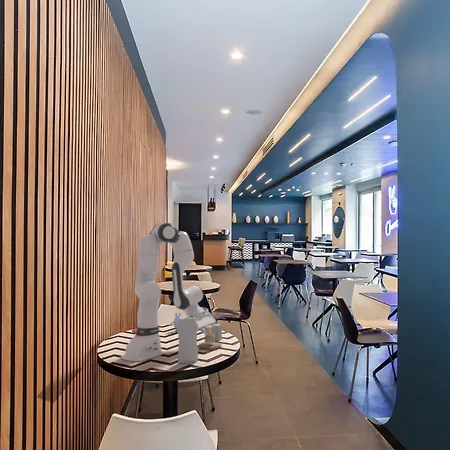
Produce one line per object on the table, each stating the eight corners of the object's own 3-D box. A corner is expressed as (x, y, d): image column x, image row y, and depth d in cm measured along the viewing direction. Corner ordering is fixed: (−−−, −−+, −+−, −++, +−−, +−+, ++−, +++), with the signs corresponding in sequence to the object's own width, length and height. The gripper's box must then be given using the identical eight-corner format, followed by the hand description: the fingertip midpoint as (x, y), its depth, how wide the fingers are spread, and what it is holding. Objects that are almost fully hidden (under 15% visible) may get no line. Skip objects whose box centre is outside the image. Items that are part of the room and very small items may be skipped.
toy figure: (185, 329, 260) (184, 311, 260) (187, 331, 254) (186, 312, 254) (169, 330, 257) (169, 312, 257) (170, 332, 251) (170, 314, 251)
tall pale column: (197, 359, 195) (196, 315, 195) (199, 362, 191) (198, 317, 191) (177, 362, 192) (176, 317, 192) (178, 364, 188) (177, 319, 188)
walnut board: (213, 351, 208) (213, 349, 208) (193, 348, 215) (193, 346, 215) (225, 345, 219) (225, 343, 219) (206, 342, 226) (206, 340, 226)
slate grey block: (218, 341, 228) (217, 325, 228) (212, 340, 230) (212, 325, 231) (221, 339, 232) (221, 324, 232) (216, 338, 234) (215, 323, 234)
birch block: (210, 343, 214) (210, 327, 214) (204, 342, 216) (204, 326, 217) (214, 341, 218) (214, 325, 218) (208, 341, 220) (208, 325, 220)
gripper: (188, 314, 212) (203, 334, 207) (208, 308, 230) (223, 326, 224) (181, 321, 214) (196, 341, 209) (202, 314, 232) (216, 333, 227)
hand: (210, 333), depth 217 cm, fingers closed on birch block, 4 cm apart
